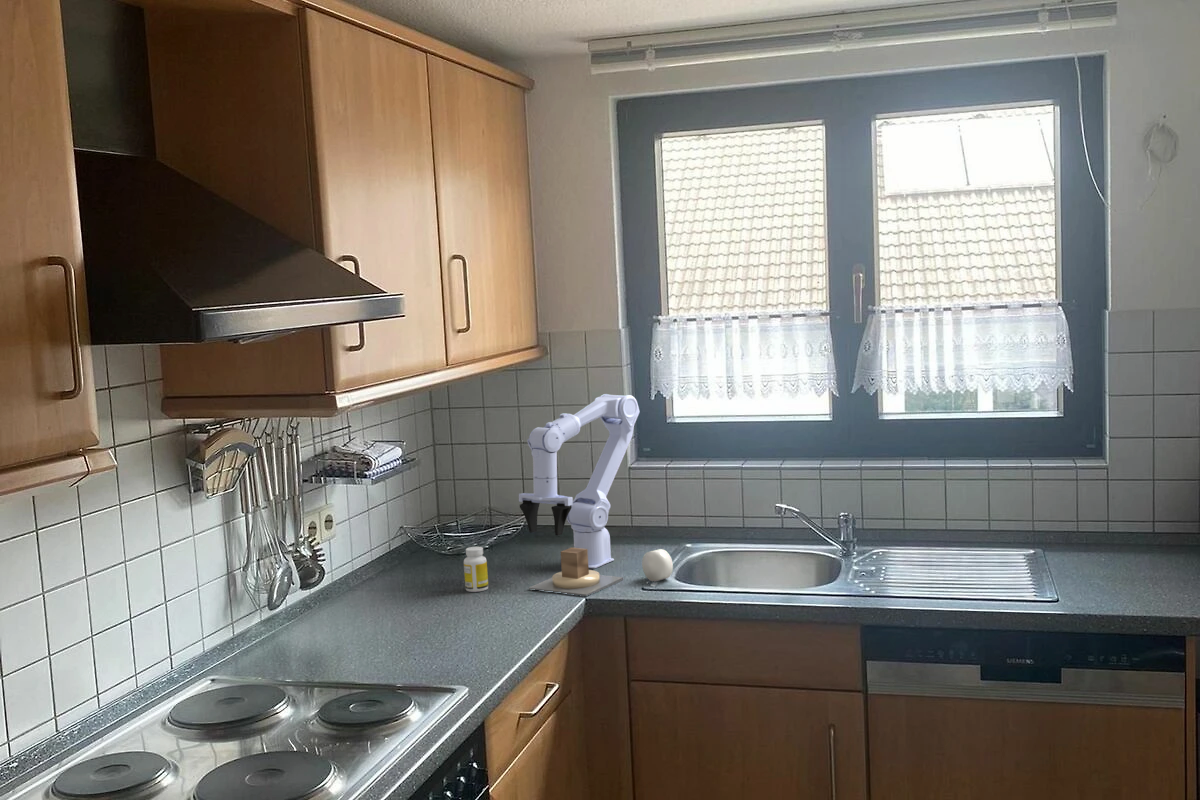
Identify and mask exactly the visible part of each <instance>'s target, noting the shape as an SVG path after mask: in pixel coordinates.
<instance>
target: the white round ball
mask: <svg viewBox="0 0 1200 800" xmlns="http://www.w3.org/2000/svg"><path fill="white" fill-rule="evenodd" d="M641 565H642V566H641V567H642V571H643V573H644V575H645V578H647V579H648V581H650V582H653V581H654V582H655V583H656V582H659V581H662V580H666V579H669V578H670V577H671V575H672V574H673V572H674V565H673V559H672V557H671V555H670V554H669V552H668V551H667V550H665V549H663V548H662V549H661V548H660V549H655V550H651V551H647V552H645V553H644V555H643V557H642V559H641Z"/></svg>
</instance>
